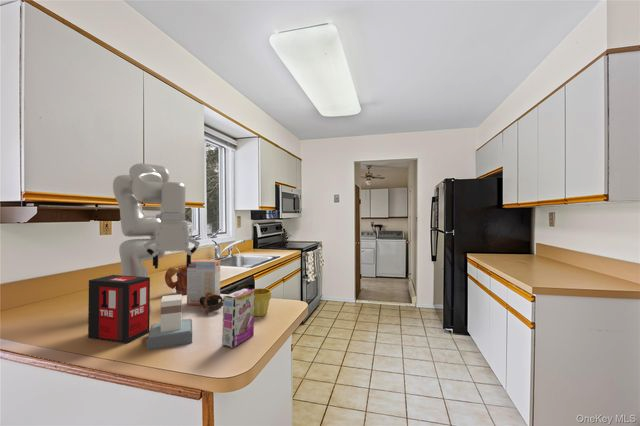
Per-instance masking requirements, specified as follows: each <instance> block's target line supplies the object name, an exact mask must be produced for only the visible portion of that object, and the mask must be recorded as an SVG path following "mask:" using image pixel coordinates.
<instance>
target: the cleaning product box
mask: <svg viewBox="0 0 640 426" xmlns="http://www.w3.org/2000/svg"><path fill="white" fill-rule="evenodd" d="M150 293H151V277H149V276H148V277H137V276H123V275H122V274H121V275H120V274H110V275H106V276H102V277H96V278H93V279H88V304H87V305H88V309H87V310H88V312H87V313H88V315H87V316H88V317H87V318H88V319H87V320H88V321H87V323H88V324H87V327H88V329H87V338H88V339H90V340H98V341H105V342H114V343H121V344H130V343H132V342H133V341H136V340H137V339H140V338H141V337H143V336H146V335H149V332H150V318H151V317H150V314H151V313H150V312H151V310H150V306H151V303H150V300H151V296H150V295H151V294H150Z"/></svg>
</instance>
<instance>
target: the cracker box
mask: <svg viewBox="0 0 640 426" xmlns="http://www.w3.org/2000/svg"><path fill="white" fill-rule="evenodd" d="M212 294H217V295H220V296H221V259H191V264H189V267H187V294H186V305H187V306H202V305H201V304H200V302H199V300H200V298H201V297H208V296H209V295H212ZM208 300H210V299H208ZM220 301H221V300H220V299H219V301H218V302H220ZM207 306H208V305H207Z"/></svg>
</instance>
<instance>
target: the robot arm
mask: <svg viewBox="0 0 640 426" xmlns="http://www.w3.org/2000/svg"><path fill="white" fill-rule="evenodd" d="M128 173H129V174H121V175H117V176H115V177H114V179H113V182H112V190H113V195H114V198H115V199H116V202H117V204H118V207H119V215H120V225H121V232H122V235H124V236H125V237H129V238H131V237H132V239H127V240H124V241H123V242H121V244H120V245H119V248H118V252H119V258H120V264H121V265H120V266H121V267H120V268H121V275H123V276H137V277H149V276H148V274H149V273H148V272H149V271H148V269H147V267H146V265H144V264H143V263H142V261H150V260H152V266H153V267H154V269H155V270H157V269H158V268H159V259H162V258H163V257H164V256H165V254H166V252H183V251H185V252H186V264H185V266H186V267H189V264H191V260H192V255H193V254H194V253H195V252H196V251H197V249H198V247H199V245H200V243H201V242H200V241H199V240H198V241H197V240H196V239H193V238H191V237H190V235H189V225H188V224H189V223H188V221H186V185H185V184H184V183H181V182H175V181H169V180H170V172H169V170H168V168H166V166H163V165H157V164H152V163H151V164H150V163H141V162H140V163H136V164H133V165H132V166H131V167H130V168H129V172H128ZM142 203H143V204H160V213H158V214H155V215H144V211H143V205H142ZM137 237H138V238H137ZM139 237H142V238H139ZM143 237H149V238H143ZM133 238H135V239H133ZM189 243H191V244H193V245H194V246H193V247H192V248H191V249H190V244H189ZM151 310H152V306H151V305H150V311H151Z"/></svg>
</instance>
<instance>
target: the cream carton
mask: <svg viewBox="0 0 640 426" xmlns="http://www.w3.org/2000/svg"><path fill="white" fill-rule="evenodd" d="M182 295H183V294H171V295H170V294H169V295H163V296H162V298H161V301H160V322H161V332H165V331H172V330H179V329H181V320H182V311H183V310H182V306H183V305H182V304H183V303H182V302H183V300H182V299H183V298H182Z"/></svg>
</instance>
